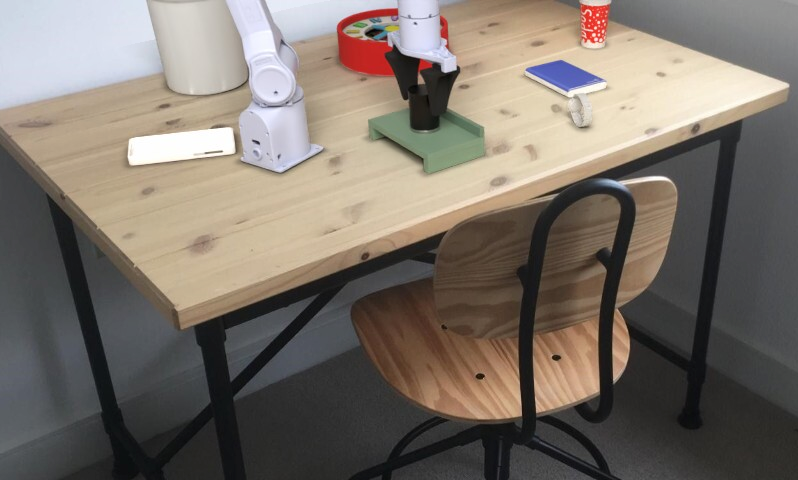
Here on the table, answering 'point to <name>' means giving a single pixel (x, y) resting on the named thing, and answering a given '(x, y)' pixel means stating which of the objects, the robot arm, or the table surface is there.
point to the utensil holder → (198, 45)
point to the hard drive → (565, 78)
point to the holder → (421, 111)
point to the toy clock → (373, 41)
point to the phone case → (180, 146)
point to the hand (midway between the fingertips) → (424, 106)
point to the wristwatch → (576, 105)
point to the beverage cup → (594, 22)
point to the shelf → (433, 138)
